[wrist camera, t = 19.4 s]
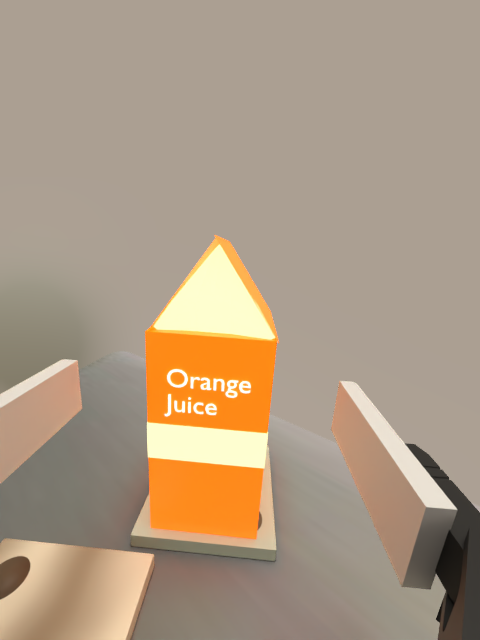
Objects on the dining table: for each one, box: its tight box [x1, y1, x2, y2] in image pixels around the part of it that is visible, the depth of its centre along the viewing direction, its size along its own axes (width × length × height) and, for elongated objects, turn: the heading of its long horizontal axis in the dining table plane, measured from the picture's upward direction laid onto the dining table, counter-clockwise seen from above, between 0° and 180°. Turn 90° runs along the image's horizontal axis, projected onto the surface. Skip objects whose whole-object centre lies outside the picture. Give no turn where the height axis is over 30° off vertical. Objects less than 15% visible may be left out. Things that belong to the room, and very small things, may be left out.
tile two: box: [131, 445, 276, 561], centre depth 23 cm, size 10×10×1 cm
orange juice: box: [145, 235, 278, 539], centre depth 20 cm, size 8×9×20 cm
